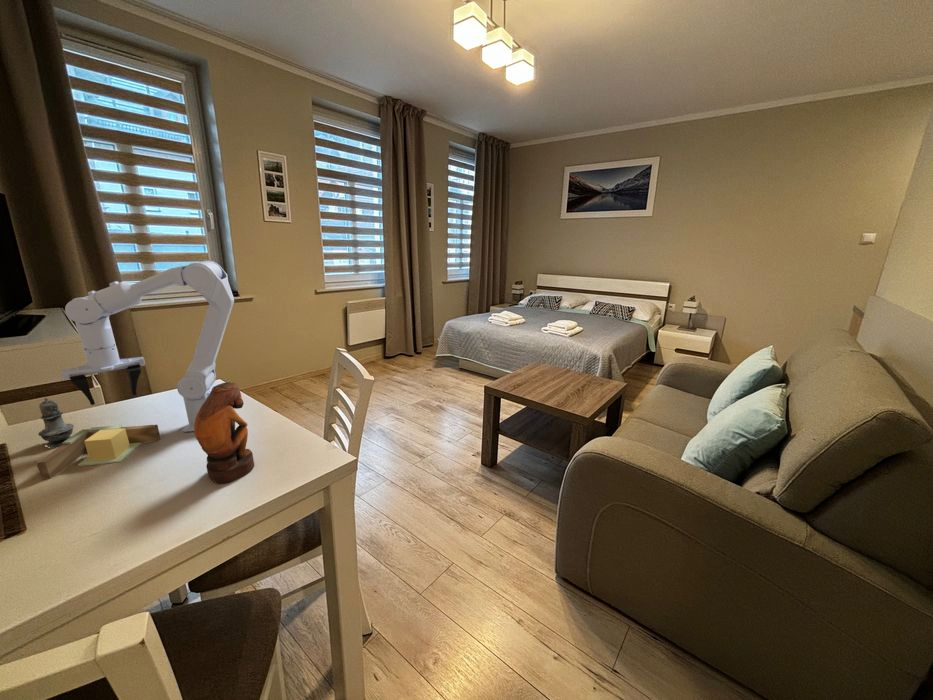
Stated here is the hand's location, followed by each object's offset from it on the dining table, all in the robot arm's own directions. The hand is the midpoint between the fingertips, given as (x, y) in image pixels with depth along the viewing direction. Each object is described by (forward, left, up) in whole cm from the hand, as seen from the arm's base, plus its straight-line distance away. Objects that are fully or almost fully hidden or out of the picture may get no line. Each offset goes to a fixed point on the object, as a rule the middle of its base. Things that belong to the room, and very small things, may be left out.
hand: (114, 398), depth 92 cm
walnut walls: (-3, +11, -10) cm, 15 cm away
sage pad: (-3, +10, -10) cm, 14 cm away
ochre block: (-3, +10, -10) cm, 14 cm away
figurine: (-32, +22, -10) cm, 40 cm away
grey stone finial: (+12, +2, -10) cm, 16 cm away
